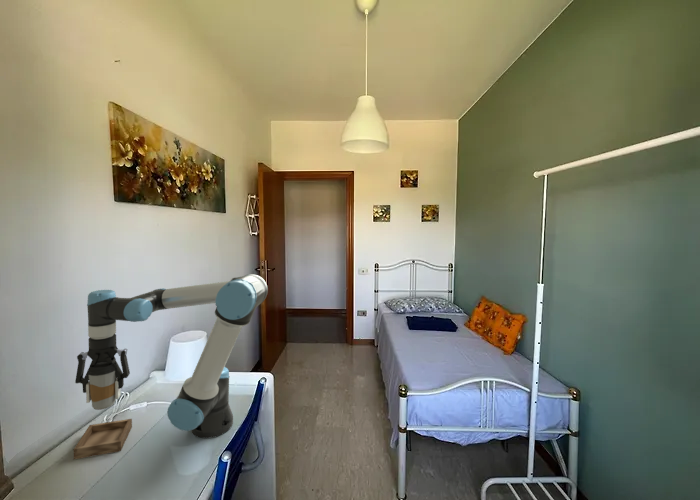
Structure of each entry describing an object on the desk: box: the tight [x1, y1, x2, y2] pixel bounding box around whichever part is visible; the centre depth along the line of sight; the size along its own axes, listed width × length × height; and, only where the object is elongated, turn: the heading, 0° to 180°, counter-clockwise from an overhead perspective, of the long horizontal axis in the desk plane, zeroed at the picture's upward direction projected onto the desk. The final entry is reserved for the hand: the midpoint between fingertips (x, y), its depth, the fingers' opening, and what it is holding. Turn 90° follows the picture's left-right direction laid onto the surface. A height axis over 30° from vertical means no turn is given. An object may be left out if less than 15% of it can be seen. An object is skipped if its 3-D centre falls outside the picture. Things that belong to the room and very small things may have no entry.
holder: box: [72, 418, 133, 460], centre depth 112 cm, size 13×13×4 cm
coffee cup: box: [87, 361, 119, 411], centre depth 110 cm, size 8×8×15 cm
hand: (103, 398), depth 110 cm, fingers closed on coffee cup, 7 cm apart
